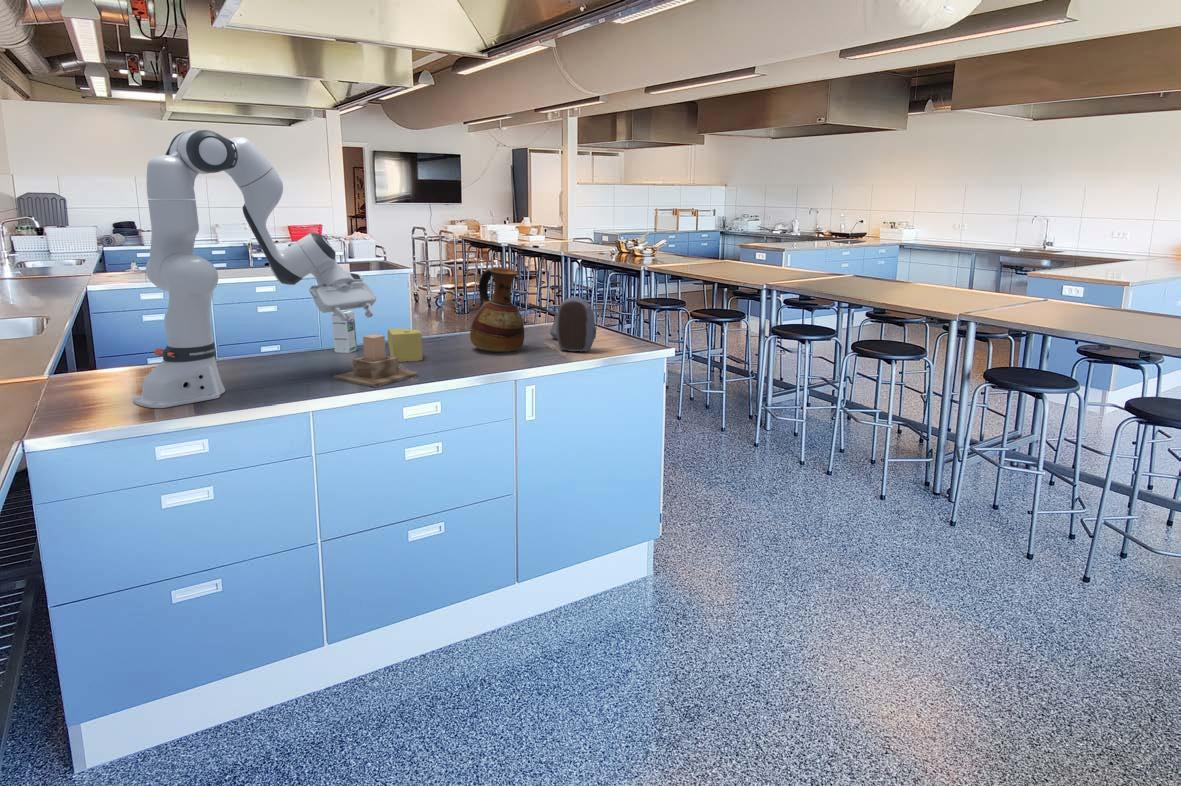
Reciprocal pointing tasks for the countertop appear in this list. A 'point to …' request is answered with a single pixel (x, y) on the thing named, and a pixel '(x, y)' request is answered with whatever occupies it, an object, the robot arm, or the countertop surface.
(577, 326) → the small grey backpack
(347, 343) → the syrup box
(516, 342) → the ceramic pitcher
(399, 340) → the cheese
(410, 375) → the socket stand
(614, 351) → the countertop surface
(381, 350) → the rust peg
